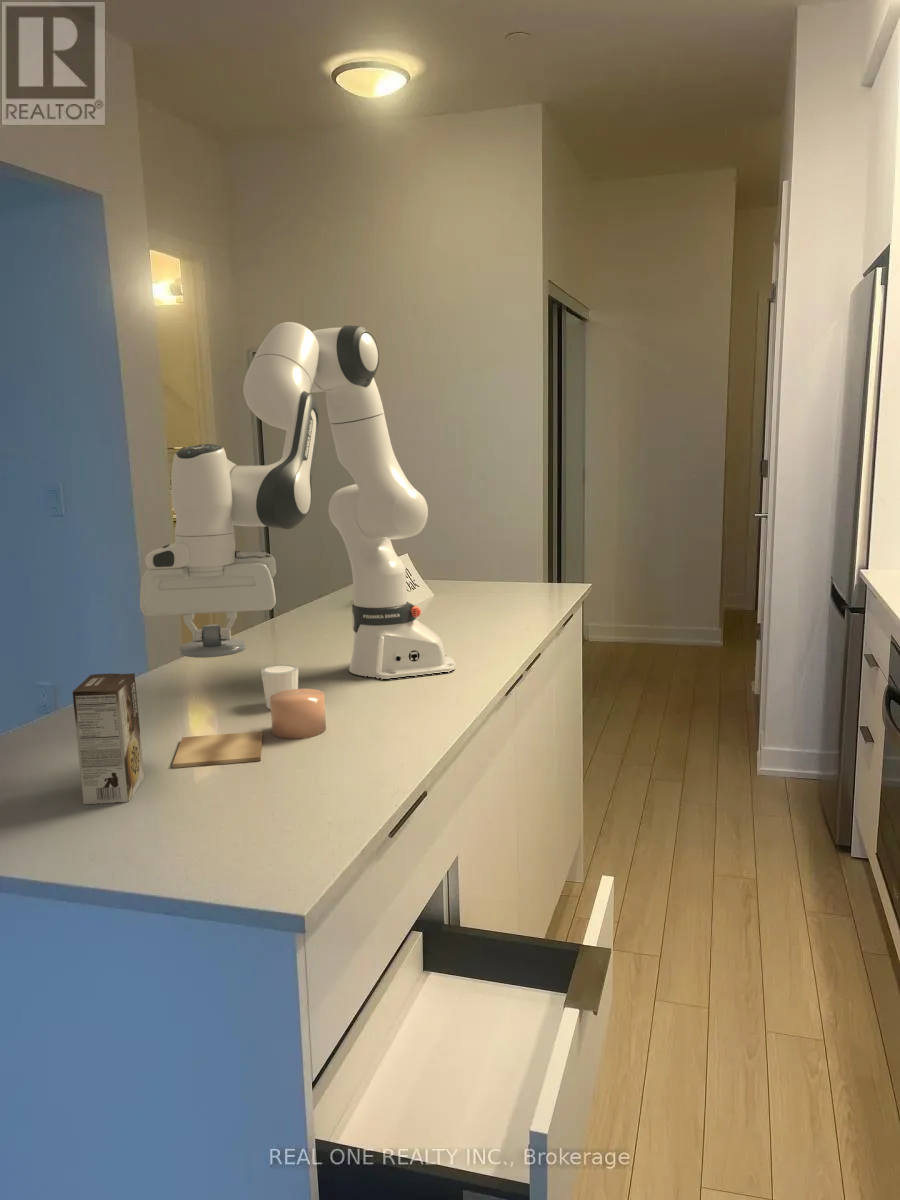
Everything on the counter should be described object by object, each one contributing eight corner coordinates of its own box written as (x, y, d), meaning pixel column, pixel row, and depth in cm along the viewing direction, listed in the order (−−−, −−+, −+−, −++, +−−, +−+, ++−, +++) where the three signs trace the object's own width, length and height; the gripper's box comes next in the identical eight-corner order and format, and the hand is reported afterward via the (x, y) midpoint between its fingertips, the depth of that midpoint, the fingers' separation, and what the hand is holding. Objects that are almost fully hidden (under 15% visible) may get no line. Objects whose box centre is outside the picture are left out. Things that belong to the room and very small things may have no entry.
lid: (246, 641, 149) (245, 618, 149) (243, 655, 140) (242, 630, 139) (183, 645, 148) (181, 621, 147) (175, 659, 138) (173, 634, 137)
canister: (325, 720, 161) (323, 687, 160) (327, 736, 152) (325, 701, 151) (272, 724, 160) (270, 690, 159) (271, 740, 151) (269, 705, 150)
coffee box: (100, 781, 135) (90, 673, 132) (145, 778, 135) (136, 671, 132) (81, 805, 126) (69, 690, 123) (129, 802, 126) (119, 688, 123)
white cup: (307, 701, 173) (305, 665, 172) (289, 712, 167) (287, 674, 165) (274, 699, 175) (272, 663, 174) (255, 709, 169) (253, 672, 168)
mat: (262, 734, 154) (262, 731, 154) (260, 760, 141) (260, 757, 141) (182, 740, 152) (182, 737, 152) (172, 767, 139) (172, 764, 139)
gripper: (275, 547, 146) (280, 633, 148) (140, 552, 143) (147, 640, 145) (274, 551, 140) (279, 641, 142) (134, 557, 136) (141, 649, 139)
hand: (211, 640), depth 144 cm, fingers closed on lid, 3 cm apart
